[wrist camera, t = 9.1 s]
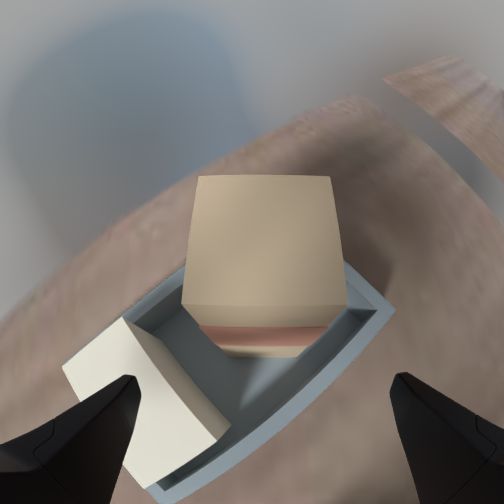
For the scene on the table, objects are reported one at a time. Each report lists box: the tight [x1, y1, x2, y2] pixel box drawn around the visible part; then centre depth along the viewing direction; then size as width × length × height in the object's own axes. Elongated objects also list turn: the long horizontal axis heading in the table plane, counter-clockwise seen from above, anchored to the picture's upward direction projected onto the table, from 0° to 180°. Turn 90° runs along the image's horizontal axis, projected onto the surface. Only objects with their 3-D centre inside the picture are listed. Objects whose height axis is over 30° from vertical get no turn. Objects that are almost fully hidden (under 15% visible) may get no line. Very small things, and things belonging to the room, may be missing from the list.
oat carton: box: [181, 175, 348, 358], centre depth 15 cm, size 5×5×13 cm
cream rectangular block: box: [62, 317, 232, 489], centre depth 15 cm, size 5×8×7 cm, turn 42°
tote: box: [63, 259, 396, 504], centre depth 18 cm, size 20×12×4 cm, turn 132°
